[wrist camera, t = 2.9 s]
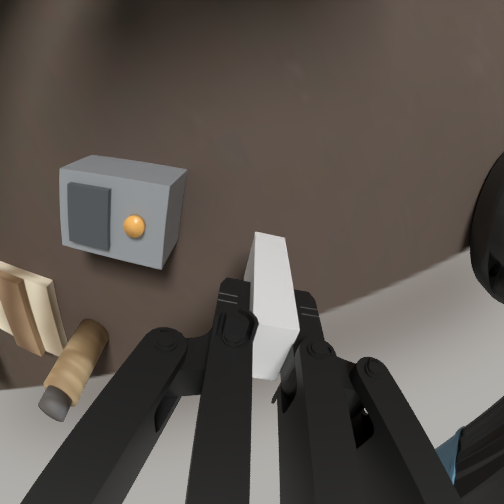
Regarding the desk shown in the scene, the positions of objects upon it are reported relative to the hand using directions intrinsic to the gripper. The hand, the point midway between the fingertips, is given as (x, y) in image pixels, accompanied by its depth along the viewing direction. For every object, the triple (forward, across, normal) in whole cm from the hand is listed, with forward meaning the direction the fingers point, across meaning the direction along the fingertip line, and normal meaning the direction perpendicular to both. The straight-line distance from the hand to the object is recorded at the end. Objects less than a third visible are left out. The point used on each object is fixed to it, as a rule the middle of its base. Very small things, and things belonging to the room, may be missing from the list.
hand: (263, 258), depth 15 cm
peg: (+5, +13, +14) cm, 20 cm away
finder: (+5, +9, 0) cm, 10 cm away
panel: (+5, +23, +14) cm, 27 cm away
